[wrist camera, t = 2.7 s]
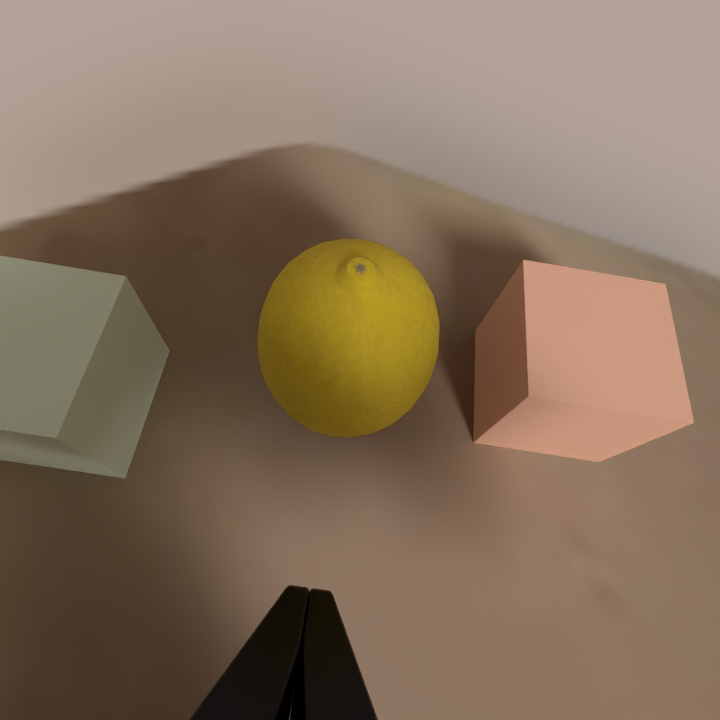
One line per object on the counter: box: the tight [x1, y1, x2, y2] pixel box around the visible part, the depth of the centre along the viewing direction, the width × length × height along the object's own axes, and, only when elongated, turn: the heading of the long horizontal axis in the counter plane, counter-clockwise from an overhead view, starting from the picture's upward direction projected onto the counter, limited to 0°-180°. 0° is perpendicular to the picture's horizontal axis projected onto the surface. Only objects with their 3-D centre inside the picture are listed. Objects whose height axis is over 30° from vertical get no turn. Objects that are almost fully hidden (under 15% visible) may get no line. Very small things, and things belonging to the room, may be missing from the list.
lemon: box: [257, 239, 440, 438], centre depth 15 cm, size 6×6×8 cm
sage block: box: [0, 256, 170, 478], centre depth 15 cm, size 5×5×5 cm
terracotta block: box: [473, 260, 694, 462], centre depth 17 cm, size 5×5×5 cm
